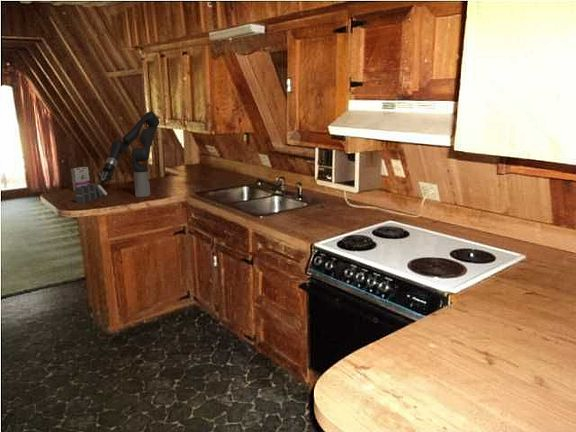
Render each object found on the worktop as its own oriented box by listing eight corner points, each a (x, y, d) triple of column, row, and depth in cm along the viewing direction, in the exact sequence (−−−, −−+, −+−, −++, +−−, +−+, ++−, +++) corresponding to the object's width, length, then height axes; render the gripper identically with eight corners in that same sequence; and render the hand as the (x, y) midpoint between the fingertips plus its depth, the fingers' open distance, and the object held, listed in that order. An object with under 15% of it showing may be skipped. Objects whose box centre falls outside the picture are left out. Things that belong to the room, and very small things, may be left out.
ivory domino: (101, 192, 319) (93, 184, 310) (107, 193, 318) (99, 184, 309) (99, 194, 318) (92, 186, 309) (106, 195, 317) (98, 187, 308)
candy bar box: (87, 188, 337) (85, 166, 332) (91, 189, 334) (88, 167, 329) (72, 190, 328) (70, 168, 324) (76, 191, 325) (74, 169, 321)
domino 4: (96, 194, 314) (90, 183, 307) (102, 195, 313) (97, 183, 306) (94, 196, 312) (89, 185, 306) (100, 197, 311) (95, 185, 305)
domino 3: (90, 198, 309) (88, 183, 306) (97, 198, 308) (95, 184, 304) (88, 198, 307) (86, 184, 304) (95, 199, 306) (93, 184, 302)
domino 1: (78, 202, 298) (77, 187, 295) (85, 202, 296) (83, 187, 294) (76, 202, 296) (74, 187, 293) (83, 203, 294) (81, 188, 292)
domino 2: (84, 200, 303) (83, 185, 300) (91, 200, 302) (89, 185, 299) (82, 200, 301) (81, 186, 298) (89, 201, 300) (87, 186, 297)
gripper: (121, 169, 324) (112, 189, 316) (105, 168, 327) (95, 188, 319) (115, 162, 317) (106, 183, 309) (99, 161, 321) (89, 182, 313)
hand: (100, 185), depth 314 cm, fingers closed
